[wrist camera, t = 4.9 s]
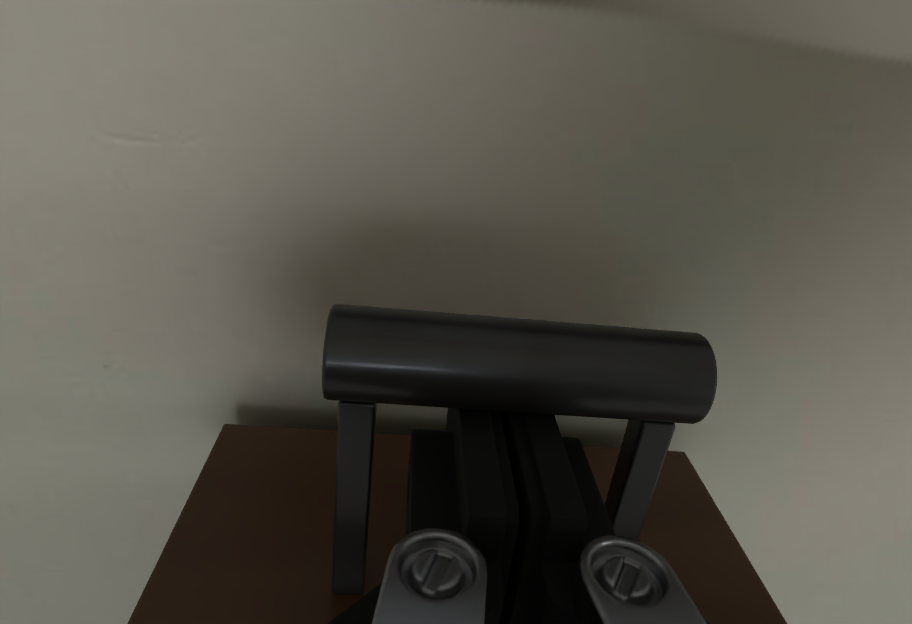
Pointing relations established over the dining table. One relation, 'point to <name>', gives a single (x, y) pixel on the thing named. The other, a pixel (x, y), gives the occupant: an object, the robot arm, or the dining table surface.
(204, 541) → the pull-out drawer box
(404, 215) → the dining table surface
